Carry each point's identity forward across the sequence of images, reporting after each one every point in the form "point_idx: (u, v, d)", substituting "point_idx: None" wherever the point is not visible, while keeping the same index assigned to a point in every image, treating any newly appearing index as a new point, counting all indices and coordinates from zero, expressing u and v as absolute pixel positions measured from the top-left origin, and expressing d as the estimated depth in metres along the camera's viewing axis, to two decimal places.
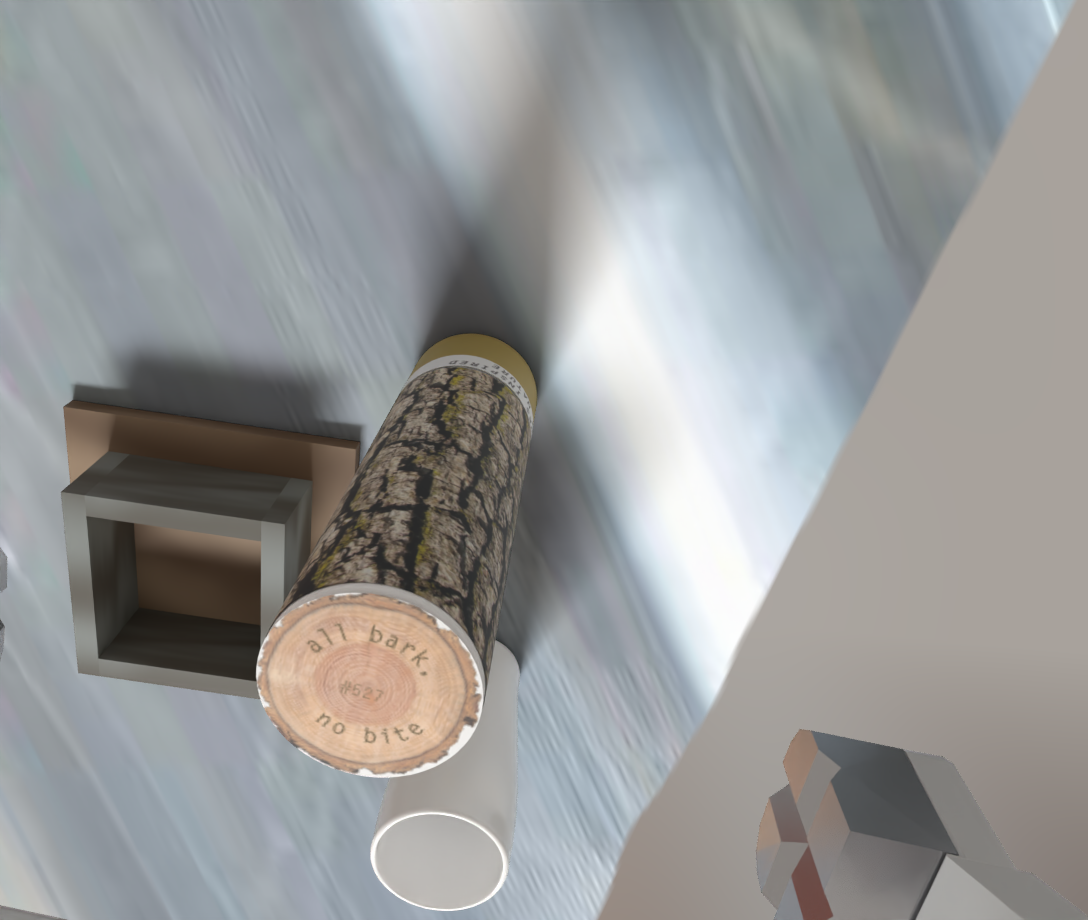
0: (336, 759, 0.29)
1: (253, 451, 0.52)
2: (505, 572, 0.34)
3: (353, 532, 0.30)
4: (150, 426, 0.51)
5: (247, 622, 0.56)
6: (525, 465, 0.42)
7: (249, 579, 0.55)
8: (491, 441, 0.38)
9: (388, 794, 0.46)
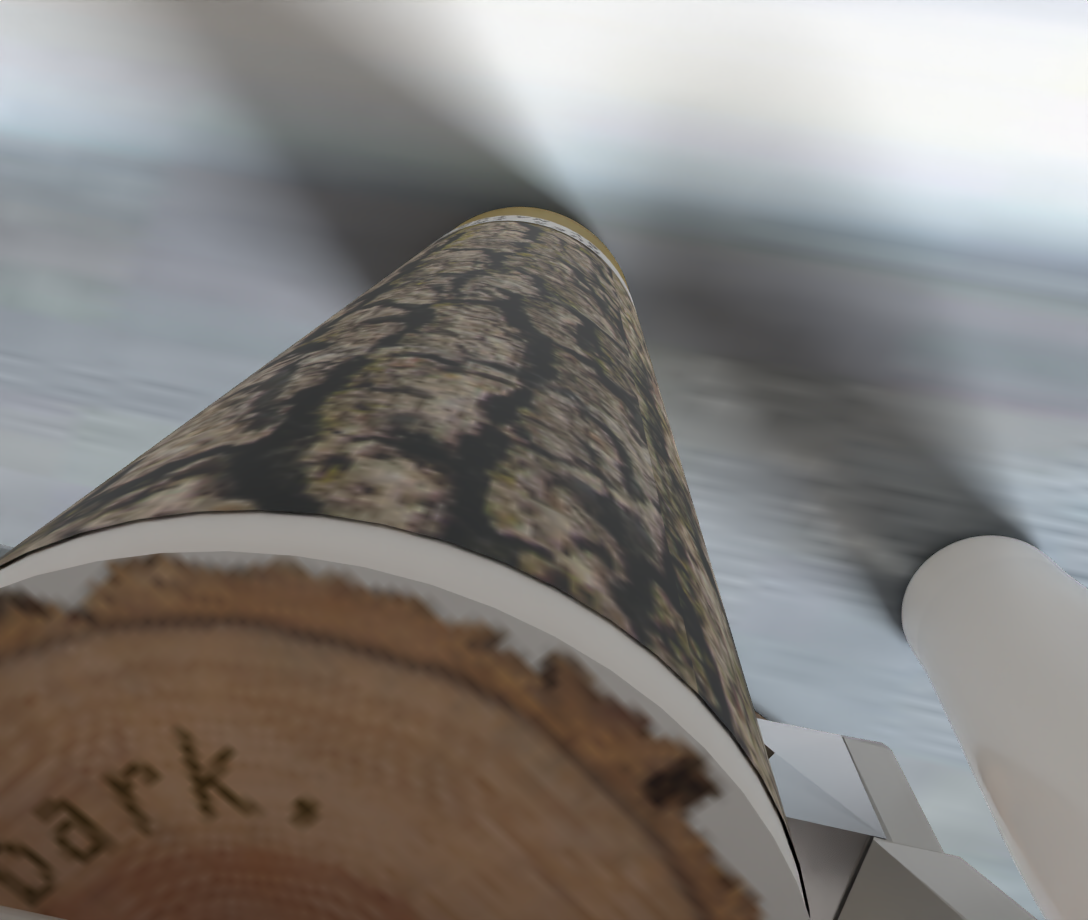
0: None
1: None
2: (567, 351, 0.11)
3: None
4: None
5: None
6: (581, 259, 0.20)
7: None
8: (424, 261, 0.17)
9: None
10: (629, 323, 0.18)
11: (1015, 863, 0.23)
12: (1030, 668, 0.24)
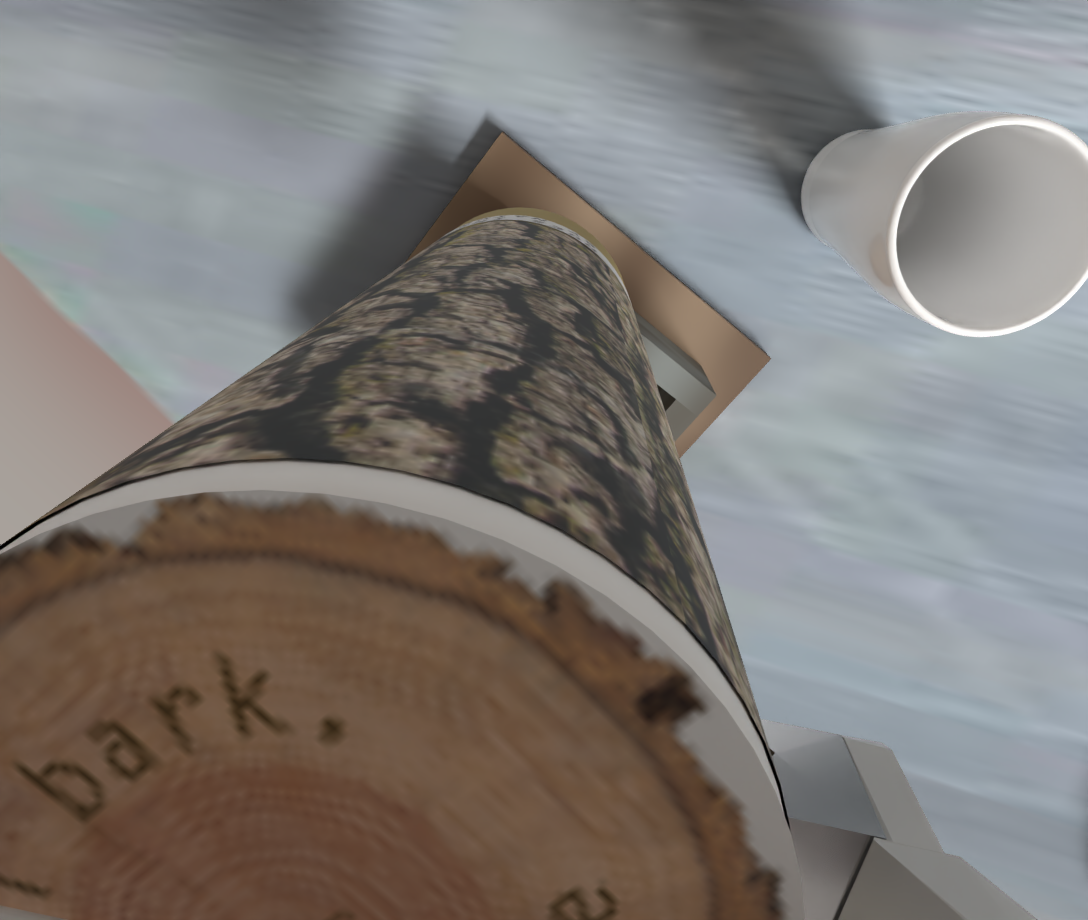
0: None
1: None
2: (565, 335, 0.12)
3: None
4: None
5: None
6: (578, 256, 0.21)
7: None
8: (427, 256, 0.17)
9: (868, 262, 0.31)
10: (625, 316, 0.18)
11: (853, 257, 0.33)
12: (869, 142, 0.34)
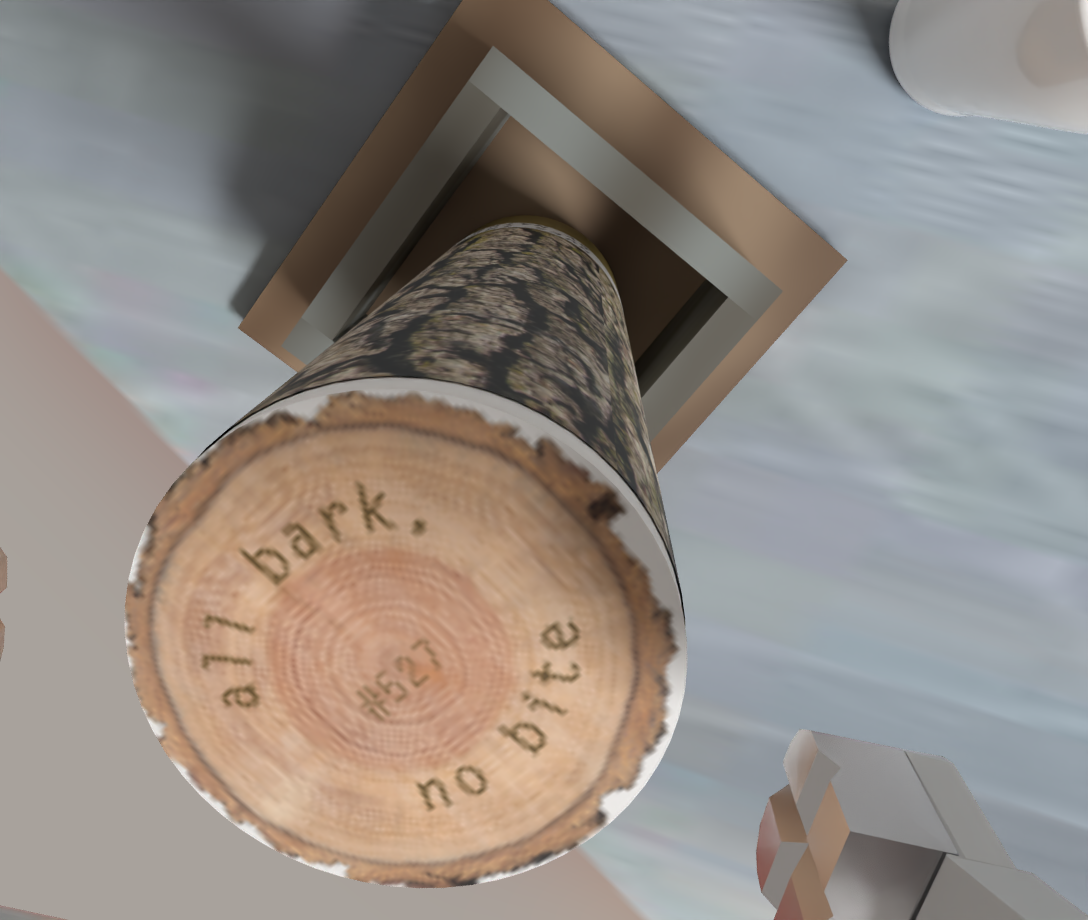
0: (550, 833, 0.12)
1: (420, 115, 0.33)
2: (556, 316, 0.17)
3: None
4: (316, 234, 0.34)
5: (663, 326, 0.35)
6: (572, 257, 0.25)
7: None
8: (452, 259, 0.22)
9: (1031, 37, 0.21)
10: (609, 305, 0.23)
11: (995, 51, 0.23)
12: None
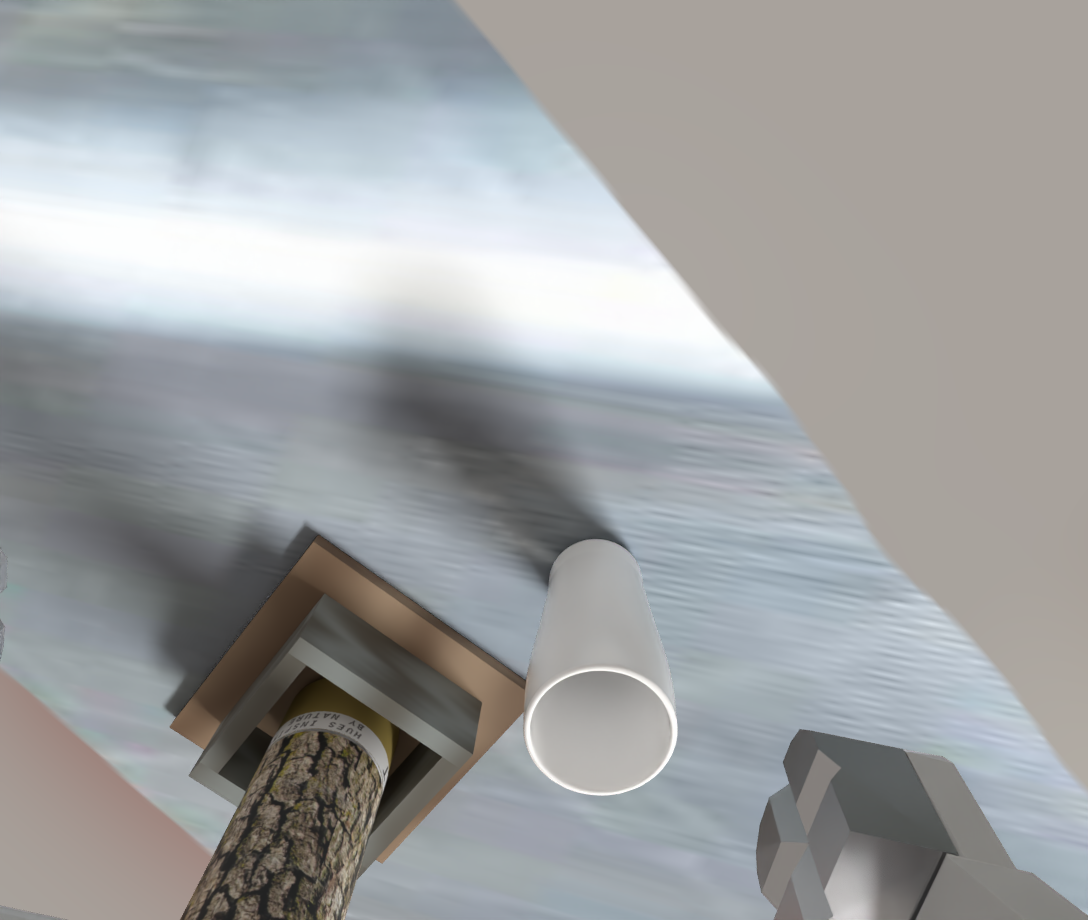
0: None
1: (275, 620, 0.55)
2: None
3: None
4: (215, 679, 0.57)
5: None
6: (334, 776, 0.48)
7: None
8: (257, 814, 0.44)
9: None
10: (341, 827, 0.45)
11: None
12: (554, 608, 0.46)
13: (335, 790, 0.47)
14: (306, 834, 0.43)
